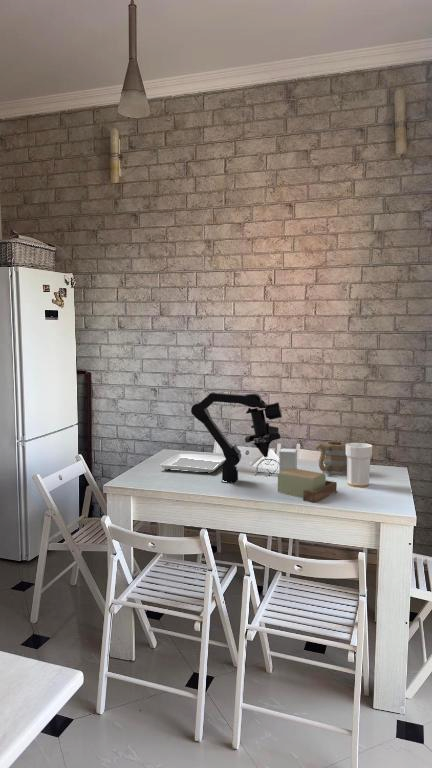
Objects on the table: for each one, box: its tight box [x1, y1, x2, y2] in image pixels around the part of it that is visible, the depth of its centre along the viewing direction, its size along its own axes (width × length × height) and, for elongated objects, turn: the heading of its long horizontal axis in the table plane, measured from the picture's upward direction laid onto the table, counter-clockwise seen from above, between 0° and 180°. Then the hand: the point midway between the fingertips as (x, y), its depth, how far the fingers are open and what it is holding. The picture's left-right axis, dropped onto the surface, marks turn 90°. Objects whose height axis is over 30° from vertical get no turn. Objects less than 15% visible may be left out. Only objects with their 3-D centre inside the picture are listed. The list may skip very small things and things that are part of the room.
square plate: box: [159, 453, 226, 474], centre depth 275 cm, size 27×27×4 cm
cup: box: [346, 442, 373, 488], centre depth 243 cm, size 11×11×17 cm
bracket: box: [302, 480, 338, 504], centre depth 225 cm, size 5×19×4 cm, turn 144°
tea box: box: [277, 468, 327, 498], centre depth 230 cm, size 16×11×8 cm
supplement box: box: [278, 448, 298, 473], centre depth 255 cm, size 7×7×13 cm
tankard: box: [314, 440, 348, 477], centre depth 263 cm, size 20×13×15 cm, turn 122°
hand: (266, 457), depth 243 cm, fingers closed
